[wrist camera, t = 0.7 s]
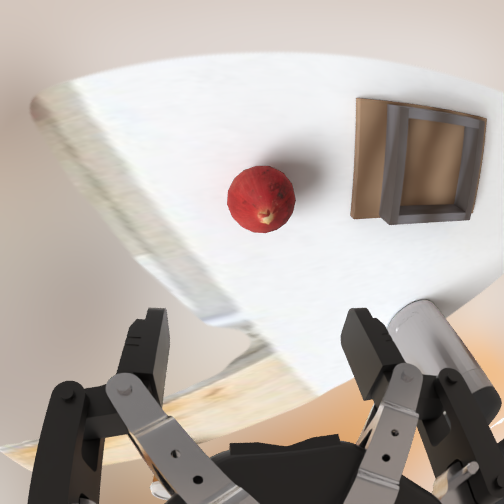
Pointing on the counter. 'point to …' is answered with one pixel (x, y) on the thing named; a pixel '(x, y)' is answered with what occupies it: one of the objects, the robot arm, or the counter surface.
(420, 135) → the pocket board
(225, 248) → the counter surface
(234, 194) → the onion
